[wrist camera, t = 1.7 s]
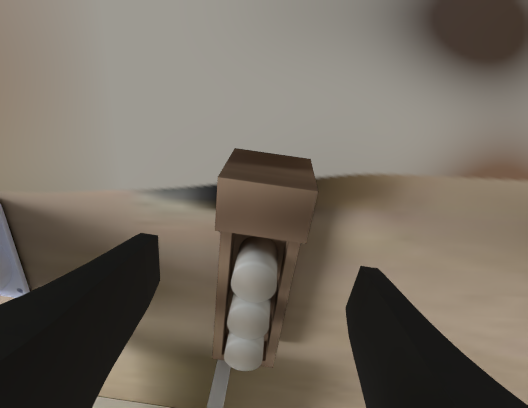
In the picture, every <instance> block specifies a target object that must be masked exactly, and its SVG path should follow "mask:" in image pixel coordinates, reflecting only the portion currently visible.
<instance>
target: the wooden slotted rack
mask: <svg viewBox="0 0 528 408" xmlns="http://www.w3.org/2000/svg"><path fill="white" fill-rule="evenodd" d="M317 195H318V188H317V184H316V180H315V176H314V172H313V168H312V164H311V159H307V158H299V157H293V156H286V155H279V154H272V153H264V152H258V151H251V150H244V149H236V148H235V149H234V151H233V152H232V154H231V156H230V157H229V159H228V161H227V162H226V164H225V166H224V168H223V169H222V171H221V173H220V174H219V176H218V184H217V202H216V220H215V231H221V235H220V250H219V265H218V280H217V295H216V310H215V325H214V340H213V355H212V359H218V360H224V361H225V362H226V363H227V364H228V365H229V366H230V367H232V368H234V369H236V370H240V371H251V370H255V369H257V368H258V367H259V366H265V367H272V368H273V365H274V360H275V356H276V351H277V347H278V342H279V338H280V333H281V329H282V324H283V320H284V315H285V311H286V306H287V301H288V297H289V292H290V288H291V283H292V279H293V274H294V270H295V265H296V261H297V256H298V252H299V247H300V243H305V244H306V242H307V238H308V234H309V229H310V225H311V221H312V217H313V212H314V208H315V204H316V199H317Z"/></svg>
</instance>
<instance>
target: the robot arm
mask: <svg viewBox="0 0 528 408" xmlns="http://www.w3.org/2000/svg"><path fill="white" fill-rule="evenodd" d="M159 281H160V269H159V248H158V235H151V234H144V233H140V234H138V235H136V236H134V237H132V238H131V239H129V240H127V241H125V242H124V243H122V244H120V245H118V246H117V247H115V248H113V249H112V250H110V251H108V252H106V253H104V254H103V255H101V256H99V257H97V258H96V259H94V260H92V261H90V262H89V263H87V264H85V265H83V266H81V267H79V268H77V269H75V270H73V271H71V272H69V273H68V274H66V275H64V276H62V277H60V278H58V279H56V280H54V281H52V282H50V283H48V284H46V285H44V286H42V287H39V288H37V289H35V290H33V291H31V292H30V290H29V287H28V284H27V281H26V278H25V275H24V272H23V269H22V266H21V263H20V260H19V257H18V254H17V251H16V248H15V245H14V242H13V238H12V235H11V232H10V229H9V226H8V223H7V220H6V217H5V214H4V211H3V208H2V205H1V204H0V296H7V297H14V298H15V299H12V300H10V301H8V302H5V303H3V304H0V408H92V407H93V405H94V403H95V401H96V399H97V397H98V395H99V392H100V390H101V388H102V386H103V384H104V382H105V380H106V378H107V376H108V375H109V373H110V371H111V369H112V367H113V366H114V364H115V362H116V361H117V359H118V357H119V356H120V354H121V352H122V350H123V349H124V347H125V345H126V344H127V342H128V340H129V339H130V337H131V335H132V334H133V332H134V330H135V329H136V327H137V325H138V324H139V322H140V320H141V319H142V317H143V315H144V313H145V312H146V310H147V308H148V306H149V304H150V302H151V300H152V298H153V296H154V293H155V291H156V288H157V286H158V284H159ZM346 317H347V326H348V334H349V339H350V343H351V348H352V352H353V356H354V360H355V364H356V368H357V372H358V376H359V380H360V384H361V388H362V392H363V396H364V400H365V404H366V408H528V405H527V404H525V403H524V402H523V401H521V400H520V399H519V398H517V397H516V396H515V395H513V394H512V393H511V392H509V391H508V390H507V389H505V388H504V387H503V386H502V385H500V384H499V383H498V382H497V381H495V380H494V379H493V378H492V377H490V376H489V375H488V374H487V373H486V372H485V371H483V370H482V369H481V368H480V367H479V366H477V365H476V364H475V363H474V362H473V361H471V360H470V359H469V358H468V357H467V356H466V355H464V354H463V353H462V352H461V351H460V350H459V349H458V348H457V347H455V346H454V345H453V344H452V343H451V342H450V341H449V340H448V339H447V338H446V337H445V336H444V335H443V334H442V333H441V332H440V331H438V330H437V329H436V328H435V327H434V326H433V325H432V324H431V323H430V322H429V321H428V320H427V319H426V318H425V317H424V316H423V315H422V314H421V313H420V312H419V311H418V310H417V309H416V308H415V307H414V306H413V304H412V303H411V302H410V301H409V300H408V299H407V298H406V297H405V296H404V295H403V294H402V293H401V292H400V291H399V290H398V289H397V288H396V286H395V285H394V284H393V283H392V282H391V281H390V280H389V279H388V278H387V277H386V276H385V275H384V274H383V273H382V272H381V271H380V270H379V269H378V268H371V267H365V266H360V269H359V272H358V275H357V277H356V280H355V283H354V286H353V289H352V291H351V294H350V297H349V300H348V303H347V305H346Z"/></svg>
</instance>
